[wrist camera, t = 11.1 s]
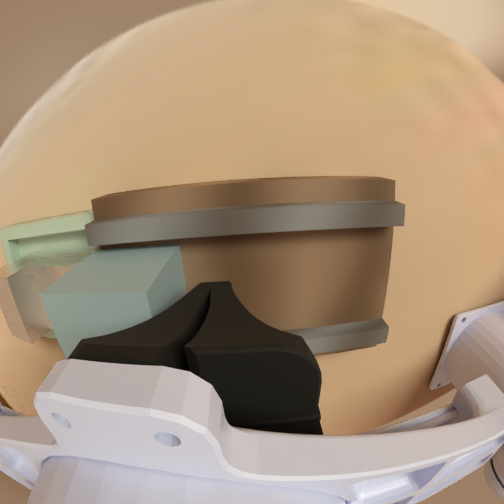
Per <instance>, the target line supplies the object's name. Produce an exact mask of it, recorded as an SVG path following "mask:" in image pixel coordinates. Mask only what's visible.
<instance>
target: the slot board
mask: <svg viewBox="0 0 504 504" xmlns="http://www.w3.org/2000/svg"><path fill="white" fill-rule="evenodd" d="M91 201H92V208H93V215H94V221H92V222H90V223H88V224H86V225H85V231H86V236H87V241H88V246H97V245H99V248H100V249H112V248H125V247H137V246H150V245H164V244H178V243H180V250H181V257H182V264H183V271H184V277H185V284H186V290H187V293H188V292H190V291H191V290H192V289H193V288H194V287H195V286H197V285H198V284H199V283H201V282H218V281H230V282H231V283H232V288H233V290H234V292H235V294H236V296H237V297H238V299H239V300H240V302H241V303H242V304H243V305H244V307H245V308H246V309H247V310H248V311H249V312H250V313H251V314H252V315H253V316H255V317H256V318H257V319H259V320H260V321H262V322H264V323H265V324H267V325H269V326H271V327H273V328H276V329H278V330H281V331H284V332H287V333H291V334H295V335H299V336H302V337H303V339H304V340H305V342H306V343H307V345H308V346H309V348H310V350H311V351H312V353H313V355H314V356H317V355H324V354H332V353H338V352H345V351H351V350H357V349H363V348H369V347H374V346H376V345H377V344H380V343H385V342H386V340H387V335H388V331H389V327H388V325H387V324H386V323H385V321H384V320H383V319H382V314H383V309H384V303H385V297H386V290H387V283H388V276H389V268H390V259H391V249H392V238H393V226H404V216H405V204H402V203H399V202H397V201H395V180H391V179H386V178H380V177H359V176H316V177H280V178H258V179H241V180H227V181H214V182H203V183H192V184H182V185H173V186H164V187H156V188H148V189H141V190H133V191H126V192H119V193H113V194H108V195H105V196H102V197H99V198H96V199H93V200H91Z"/></svg>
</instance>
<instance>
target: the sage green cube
mask: <svg viewBox="0 0 504 504" xmlns="http://www.w3.org/2000/svg"><path fill="white" fill-rule="evenodd" d="M186 294H187V290H186V284H185V277H184V271H183V264H182V257H181V250H180V243H178V244H164V245H150V246H137V247H125V248H112V249H100V250H96V251H95V252H93V253H92V254H91V255H89V256H88V257H87V258H85V259H84V260H83V261H81V262H80V263H79V264H77V265H76V266H75V267H73V268H72V269H71V270H69V271H68V272H67V273H66V274H64V275H63V276H62V277H60V278H59V279H58V280H57V281H55V282H54V283H53V284H52V285H50V286H49V287H48V288H47V289H46V290H44V291H43V292H42V293H41V294H40V295H41V298H42V301H43V303H44V306H45V309H46V312H47V315H48V317H49V320H50V323H51V325H52V328H53V330H54V333H55V335H56V338H57V340H58V342H59V345H60V347H61V349H62V351H63V353H64V356H65V358H66V360H67V358H68V357H69V356H70V354H71V353H72V351H73V350H74V349H75V347H76V346H77V345H78V343H79V342H80V340H81V339H86V338H92V337H97V336H102V335H107V334H111V333H114V332H118V331H121V330H124V329H127V328H130V327H133V326H135V325H137V324H140V323H142V322H144V321H147V320H149V319H151V318H152V317H154V316H156V315H158V314H160V313H161V312H163V311H164V310H166V309H167V308H169V307H170V306H172V305H173V304H174V303H176V302H177V301H178V300H180V299H181V298H182V297H184V296H185V295H186Z"/></svg>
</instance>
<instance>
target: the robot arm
mask: <svg viewBox="0 0 504 504" xmlns="http://www.w3.org/2000/svg"><path fill="white" fill-rule="evenodd" d="M321 383H322V380H321V371H320V368H319V365H318V363H317V361H316V359H315V357H314V355H313V353H312V351H311V350H310V348H309V346H308V345H307V343H306V342H305V340H304V339H303V337H302V336H299V335H295V334H291V333H287V332H284V331H281V330H278V329H276V328H273V327H271V326H269V325H267V324H265V323H264V322H262V321H260V320H259V319H257V318H256V317H255V316H253V315H252V314H251V313H250V312H249V311H248V310H247V309H246V308H245V307H244V305H243V304H242V303H241V302H240V300H239V299H238V297H237V296H236V294H235V292H234V290H233V288H232V283H231V282H230V281H218V282H201V283H199V284H198V285H197V286H195V287H194V288H193V289H192V290H191V291H190V292H188V293H187V294H186V295H185V296H184V297H182V298H181V299H180V300H178V301H177V302H176V303H174V304H173V305H172V306H170V307H169V308H167V309H166V310H164V311H163V312H161V313H160V314H158V315H156V316H154V317H152V318H151V319H149V320H147V321H144V322H142V323H140V324H137V325H135V326H133V327H130V328H127V329H124V330H121V331H118V332H114V333H111V334H107V335H102V336H97V337H92V338H86V339H81V340H80V342H79V343H78V345H77V346H76V347H75V349H74V350H73V351H72V353H71V354H70V356H69V357H68V358H67V360H61V361H57V363H56V364H55V366H54V367H53V368H52V370H51V371H50V372H49V374H48V375H47V377H46V378H45V380H44V381H43V382H42V384H41V385H40V387H39V388H38V390H37V391H36V393H35V396H34V399H33V403H34V406H35V408H36V410H37V413H38V415H39V416H26V415H23V414H21V413H18V412H16V411H14V410H11V409H9V408H6V407H4V406H2V405H1V403H0V470H1V471H2V472H4V473H5V474H7V475H8V476H10V477H11V478H13V479H14V480H16V481H18V482H19V483H21V484H22V485H24V486H26V487H27V488H29V489H30V490H32V492H31V494H30V497H29V499H28V502H27V504H416V503H418V502H420V501H422V500H424V499H426V498H428V497H430V496H432V495H433V494H435V493H437V492H439V491H441V490H442V489H444V488H446V487H447V486H449V485H451V484H453V483H455V482H456V481H458V480H459V479H461V478H463V477H464V476H466V475H467V474H469V473H471V472H473V471H474V470H476V469H477V468H479V467H480V466H482V465H483V464H484V474H485V478H486V481H487V484H488V486H489V488H490V489H491V490H492V492H493V493H494V494H495V495H496V496H497V497H498V498H500V499H502V500H504V301H501V302H497V303H494V304H491V305H488V306H484V307H481V308H478V309H474V310H471V311H467V312H463V313H460V314H457V315H456V316H455V317H454V319H453V322H452V325H451V329H450V332H449V335H448V338H447V341H446V344H445V347H444V349H443V352H442V355H441V358H440V360H439V363H438V365H437V368H436V370H435V373H434V375H433V378H432V380H431V382H430V385H429V388H430V389H431V390H434V389H437V388H440V387H442V386H445V385H448V384H450V383H452V384H453V386H454V387H455V388H456V389H457V391H458V392H457V393H456V395H455V397H454V399H453V402H452V403H451V404H449V405H447V406H444V407H442V408H439V409H437V410H434V411H432V412H429V413H426V414H424V415H421V416H418V417H416V418H412V419H410V420H407V421H404V422H400V423H397V424H394V425H391V426H387V427H384V428H380V429H377V430H373V431H369V432H365V433H361V434H357V435H323V432H322V428H321V424H320V419H321V414H320V411H319V407H318V403H319V396H320V390H321Z"/></svg>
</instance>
